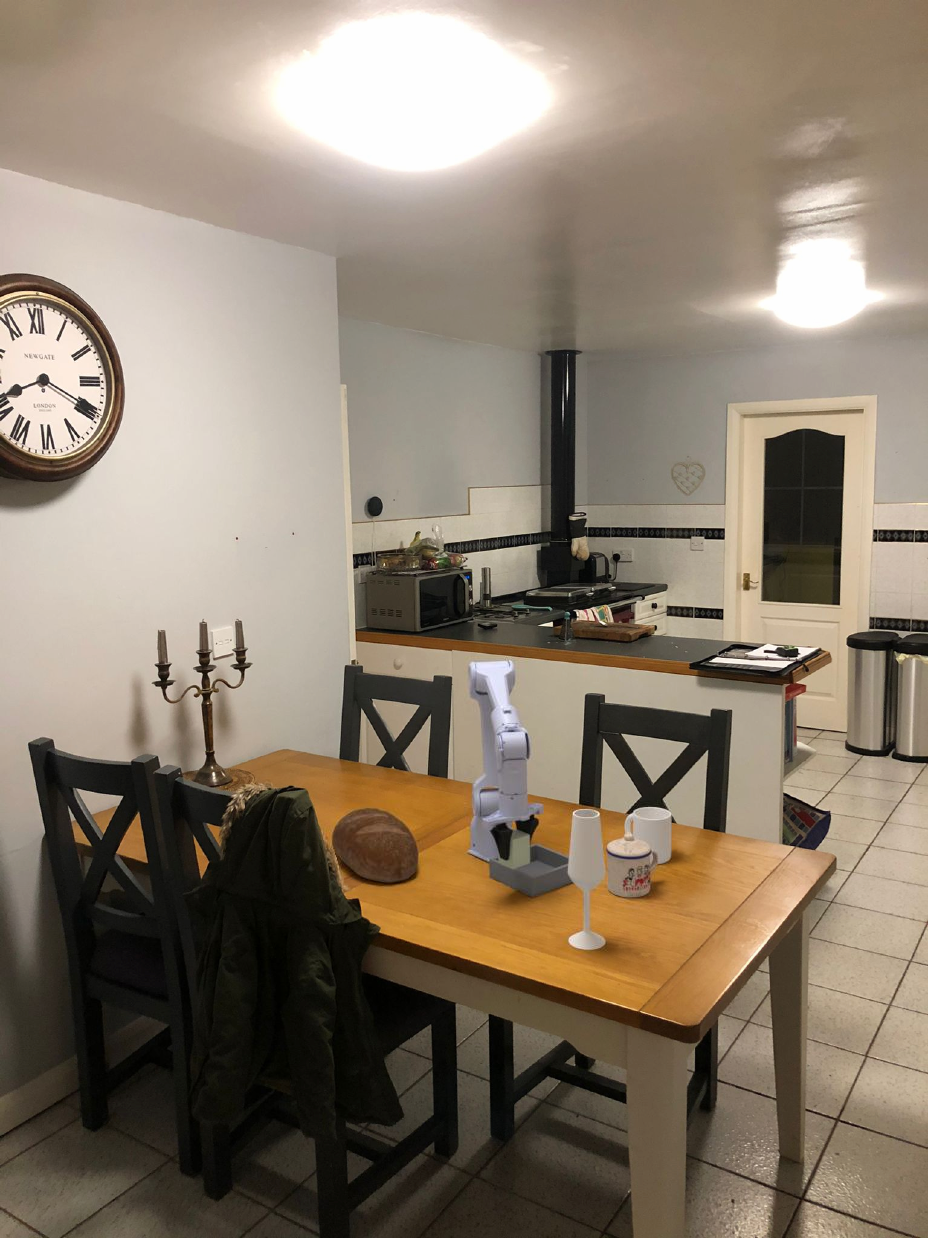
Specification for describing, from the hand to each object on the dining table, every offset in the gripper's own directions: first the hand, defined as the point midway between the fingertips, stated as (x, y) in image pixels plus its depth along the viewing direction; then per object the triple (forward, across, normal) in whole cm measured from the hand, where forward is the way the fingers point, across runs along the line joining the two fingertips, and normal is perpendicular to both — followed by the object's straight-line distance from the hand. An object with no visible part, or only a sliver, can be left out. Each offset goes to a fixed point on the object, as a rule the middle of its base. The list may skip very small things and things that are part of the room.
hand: (513, 855), depth 192 cm
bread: (+9, -12, +34) cm, 37 cm away
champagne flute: (+8, -3, -24) cm, 25 cm away
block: (+2, 0, 0) cm, 2 cm away
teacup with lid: (+8, +21, -14) cm, 26 cm away
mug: (+9, +36, -3) cm, 37 cm away
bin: (+8, +9, +3) cm, 12 cm away
